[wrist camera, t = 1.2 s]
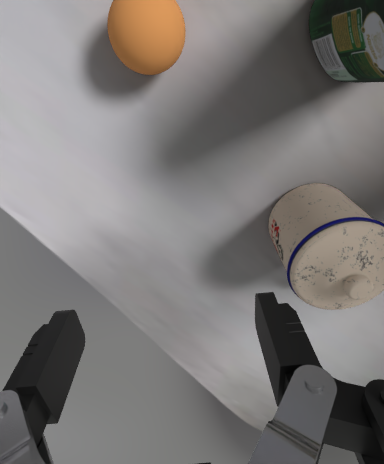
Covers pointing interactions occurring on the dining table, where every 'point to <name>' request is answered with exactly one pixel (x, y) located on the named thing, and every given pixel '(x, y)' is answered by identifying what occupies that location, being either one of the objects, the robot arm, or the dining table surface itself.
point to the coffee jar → (349, 38)
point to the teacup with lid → (328, 247)
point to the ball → (146, 34)
